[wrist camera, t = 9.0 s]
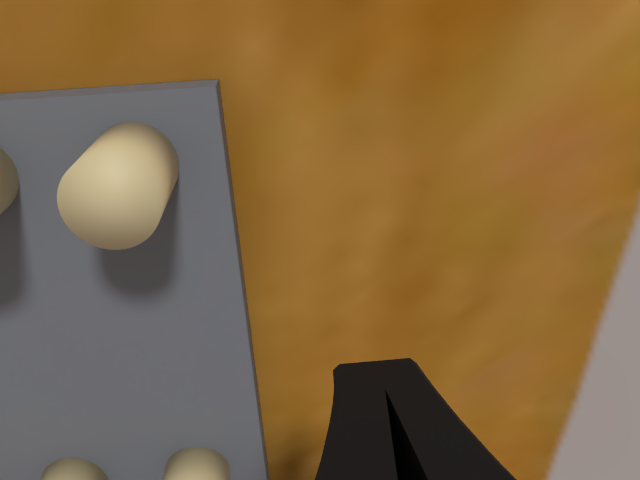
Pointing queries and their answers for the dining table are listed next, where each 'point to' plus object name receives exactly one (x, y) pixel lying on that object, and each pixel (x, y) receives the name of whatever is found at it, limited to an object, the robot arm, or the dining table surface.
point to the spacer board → (123, 289)
